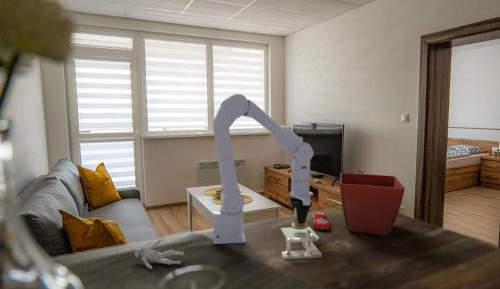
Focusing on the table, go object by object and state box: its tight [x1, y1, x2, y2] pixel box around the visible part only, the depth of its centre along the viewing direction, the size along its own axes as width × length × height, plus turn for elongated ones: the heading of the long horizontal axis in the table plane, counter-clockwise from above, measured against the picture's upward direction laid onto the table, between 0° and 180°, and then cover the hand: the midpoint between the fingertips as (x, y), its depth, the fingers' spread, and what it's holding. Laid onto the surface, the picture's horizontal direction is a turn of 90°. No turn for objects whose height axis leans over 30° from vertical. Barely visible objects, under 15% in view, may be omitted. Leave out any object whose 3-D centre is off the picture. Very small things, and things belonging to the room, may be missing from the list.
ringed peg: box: [291, 208, 309, 230], centre depth 102 cm, size 5×5×6 cm
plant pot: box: [339, 172, 406, 236], centre depth 108 cm, size 19×19×17 cm
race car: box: [311, 211, 330, 231], centre depth 111 cm, size 13×5×4 cm, turn 172°
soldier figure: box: [134, 239, 184, 270], centre depth 82 cm, size 8×5×12 cm
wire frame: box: [281, 230, 323, 260], centre depth 89 cm, size 10×9×5 cm
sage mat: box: [280, 226, 320, 241], centre depth 102 cm, size 10×10×1 cm
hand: (299, 221), depth 102 cm, fingers closed on ringed peg, 4 cm apart
